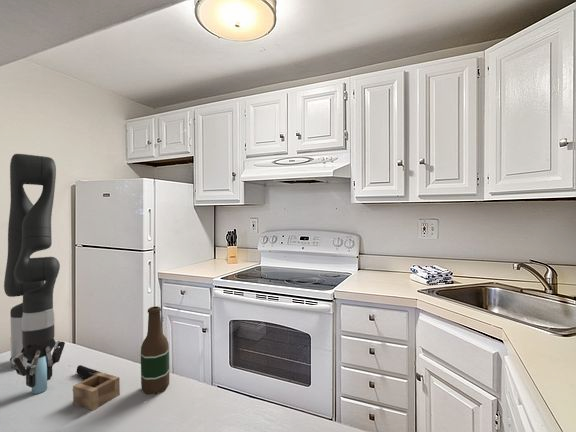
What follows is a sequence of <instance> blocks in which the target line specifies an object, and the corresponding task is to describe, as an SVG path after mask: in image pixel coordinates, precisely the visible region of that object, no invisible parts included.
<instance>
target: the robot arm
mask: <svg viewBox="0 0 576 432" xmlns="http://www.w3.org/2000/svg"><path fill="white" fill-rule="evenodd" d="M9 164H10V165H9V180H10V181H9V186H10V187H9V190H10V204H9V205H10V206H9V207H10V208H9V216H8V224H7V225H8V226H7V227H8V229H7V260H6V267H5V272H4V282H3V289H4V294H5V295H6V296H7V297H10V298H15V297H22V302H21V303H19V304H17V305H15V306H13V307H11V308H10V358H9V361H10V365H11V367H12V368H14V371H15V372H16V374H17V375H19V376H23V377H25V385H26V386H28V388H31V389H32V387H35V374H34V371H35V367H36V366H37V363H38V358H41V357H43V356H46V357H47V382H48V381H51V379H52V377H53V366H54V365H55V364H56V363H57V364H58V363H59V362H60V359H61V357H62V353H63V351H64V347H65V344H66V342H65V341H61V340H57V341H56V339H55V333H56V332H55V312H54V289H55V284H56V282H57V278H58V275H59V273H60V272H59V271H60V268H61V265H60V261H59V260H58V259H57V257H55V256H43V257H42V256H41V257H40V256H39V257H31V256H32V255H33V254H34V253H36V252H41V251H46V250H47V249H50V248H51V247H52V239H53V238H52V216H53V215H52V214H53V207H54V198H55V190H56V189H55V188H56V179H57V166H56V162H55V160H54V159H53V158H51V157H50V156H45V155H44V156H43V155H33V154H24V153H15V154H13V155H12V157H11V159H10V163H9ZM24 185H32V186H33V185H36V186H42V191H41V194H40V196H39V197H38V199H37V200H36V202H35V203H34V204H33V202H32V201H31V199H30V197H28V195H27V193H26V190H25V188H24ZM31 361H32V362H31Z"/></svg>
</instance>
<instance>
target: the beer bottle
mask: <svg viewBox="0 0 576 432" xmlns="http://www.w3.org/2000/svg"><path fill="white" fill-rule="evenodd" d="M161 312H162V308H161V307H160V306H151V307H149V308H148V309H147V313H148V316H147V317H148V319H147V320H148V321H147V333H146V336H145V338H144V339H143V341H142V343H141V347H140V386H141V387H140V388H141V391H142V392H143V393H144V394H145V395H147V396H149V395H158V394H160V393H162V392H165V391H166V390H167V389H168V386H169V385H170V344H169V341H168V339H167V337H166V335H164V333H163V329H162V319H161V318H162V317H161Z"/></svg>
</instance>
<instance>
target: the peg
mask: <svg viewBox="0 0 576 432" xmlns="http://www.w3.org/2000/svg"><path fill="white" fill-rule="evenodd" d="M31 362H32V361H31ZM34 374H35V387H32V388H31V394H34V395H36V394H40V393H43V392H45V391H47V390H48V381H47V357H46V356H43V357H41V358H38V363H37V366H36V367H35V371H34Z"/></svg>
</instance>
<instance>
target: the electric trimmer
mask: <svg viewBox="0 0 576 432" xmlns="http://www.w3.org/2000/svg"><path fill="white" fill-rule="evenodd" d="M100 372H101V373H103V372H102V371H99V370H96V369H93V368H90V367H86V366H84V365H81V364H80V365H79V364H78V365H77V366H76V374H77V375H78V376H80V378H82V379H83V380H86V379H88V378H90V377H92V376H94V375H96V374H98V373H100ZM104 373H105V374H107V373H106V372H104Z"/></svg>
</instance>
